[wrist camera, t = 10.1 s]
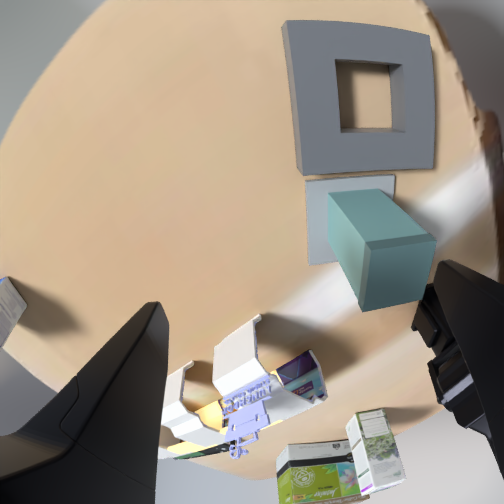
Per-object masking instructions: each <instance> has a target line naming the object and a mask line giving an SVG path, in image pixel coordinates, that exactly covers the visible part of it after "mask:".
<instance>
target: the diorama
mask: <svg viewBox="0 0 504 504" xmlns="http://www.w3.org/2000/svg"><path fill="white" fill-rule="evenodd" d="M259 321H261V314H258V315H257V316H255V317H254V318H252V319H251V320H250V321H248V322H247V323H245V324H244V325H243V326H241V327H240V328H238V329H237V330H236V331H234V332H233V333H231V334H230V335H228V336H227V337H226V338H224V339H223V341H222V342H221V343H219V344H218V345H216V346H215V347H214V362H213V381H212V383H213V384H214V385H215V387H216V388H217V390H218V391H219V392H220V394H221V395H222V396H223V397H224V398H222V399H220V400H218V401H216V402H214V403H211V404H209V405H207V406H205V407H203V408H201V409H199V410H197V411H195V412H191V411H189V410H187V408H186V407H185V405H184V404H183V403H182V399H183V397H182V396H183V390H184V382H185V381H184V380H185V372H186V370H188V369H189V368H191V367H192V366H194V362H193V360H192V361H190V362H189V363H187V364H186V365H184V366H183V367H181V368H180V369H178V370H177V371H175V372H174V373H172V374H170V375H169V376H167V380H166V387H165V395H164V403H163V411H162V420H161V429H160V439H159V449H158V459H165V458H169V457H172V458H174V457H178V456H182V455H186V454H190V453H193V452H197V451H200V450H204V449H207V448H210V447H214V446H217V445H220V444H223V443H226V442H229V441H232V440H237V446H235V445H230V448H229V450H230V451H231V452H230V457H232V458H234V459H238V458H240V455H241V454H242V455H246V454H248V450H245V449H243V450H242V449H241V448H240V447H241V446H244V445H247V444H249V443H252V442H254V441H256V440H258V434H257V432H260V431H259V430H262V429H264V428H267V427H269V426H272V425H274V424H276V423H279V422H281V421H283V420H286V419H288V418H290V417H292V416H295V415H297V414H299V413H301V412H303V411H305V410H308V409H310V408H312V407H314V406H316V405H318V404H320V403H322V402H324V401H325V400H326V398H327V397H328V394H327V390H326V386H325V382H324V378H323V374H322V370H321V366H320V364H319V362H318V360H317V359H316V357H315V355H314V354H313V351H312V350H308V351H306V352H304V353H303V354H301V355H300V356H298V357H296V358H295V359H293V360H291V361H290V362H288V363H286V364H284V365H283V366H281V367H279V368H278V369H276V371H272V372H271V373H269V372H267V371H266V370H265V369H264V367H263V366H262V365H261V363H260V362H259V360H258V354H257V353H258V352H257V339H256V335H255V334H256V331H255V324H256V323H258V322H259ZM252 433H253V435H254V438H252V439H250V440H247V441H245V442H243V443H241V438H242V437H245V436H247V435H250V434H252ZM233 447H237V450H233ZM235 451H237V455H236V456H235V457H234V455H233V454H234V452H235ZM242 452H243V453H244V454H243V453H242Z"/></svg>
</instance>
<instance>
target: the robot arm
mask: <svg viewBox="0 0 504 504" xmlns="http://www.w3.org/2000/svg"><path fill="white" fill-rule="evenodd" d="M411 329H412V330H413V331H417V330H418V331H419V333H420V335H421V336H422V338H423V340H424V342H425V343H426V345H427V347H428V348H432V350H433V351H434V353H435V355H436V357H435V358H434V359H433V360H430V361H429V362H428V363H427V365H428V368H429V373H430V376H431V380H432V383H433V386H434V389H435V392H436V396H437V402H438V403H439V404H442V405H444V407H445V408H446V409H447V410H448V411H450V412H453V413H454V416H455V419H456V421H457V423H458V424H459V425H460V426H462V427H464V428H466V429H467V428H470V429H473V430H475V431H477V432H479V433H481V434H483V435H485V436H486V438H487V440H488V442H489V444H490V447H491V449H492V451H493V454H494V456H495V459H496V461H497V464H498V466H499V469H500V472H501V474H502V477H503V479H504V285H502V284H500V283H498V282H496V281H494V280H492V279H490V278H488V277H486V276H484V275H482V274H480V273H478V272H476V271H474V270H472V269H470V268H468V267H465V266H463V265H461V264H459V263H457V262H455V261H453V260H450V259H447V260H442V261H440V262H439V263H438V266H437V270H436V273H435V277H434V282H433V284H429V285H426V287H425V291H424V294H423V298H422V299H421V300H419V304H418V307H417V310H416V314H415V317H414V320H413V323H412V326H411ZM168 348H169V322H168V319H167V317H166V314H165V312H164V309H163V307H162V305H161V303H160V302H158V301H156V302H147V303H146V304H145V305H144V306H143V307H142V308H141V309H140V310H139V311H138V312H137V313H136V314H135V315H134V316H133V317H132V318H131V319H130V320H129V321H128V322H127V323H126V324H125V325H124V326H123V327H122V328H121V329H120V330H119V331H118V332H117V333H116V334H115V335H114V336H113V337H112V338H111V339H110V340H109V341H108V342H107V343H106V344H105V345H104V346H103V347H102V348H101V349H100V350H99V351H98V352H97V353H96V354H95V355H94V356H93V357H92V358H91V359H90V360H89V362H88V363H87V364H86V365H85V366H84V367H83V368H82V369H81V370H80V371H79V372H78V373H77V376H74V377H73V378H72V379H71V380H70V382H69V383H68V384H67V385H66V386H65V387H64V388H63V389H62V390H61V391H60V392H59V393H58V394H57V395H56V396H55V397H54V398H53V399H52V400H51V401H50V402H49V403H48V404H46V406H45V407H43V408H42V409H41V410H40V411H39V412H38V413H37V414H36V415H35V416H33V417H32V418H31V419H30V420H29V421H28V422H27V423H26V424H25V425H24V426H23V427H21V428H20V429H19V430H17V431H16V432H14V433H12V434H9V435H5V436H0V504H155V487H156V473H157V460H158V449H159V439H160V429H161V420H162V411H163V403H164V395H165V387H166V380H167V372H168Z"/></svg>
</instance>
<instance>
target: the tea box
mask: <svg viewBox="0 0 504 504" xmlns="http://www.w3.org/2000/svg"><path fill="white" fill-rule="evenodd" d="M276 469H277V482H278V494H279V504H358V503H360V502H362V501H364V500H366V499H369V498H370V496H369V494H368V495H364V496H362V495H361V491H360V487H359V482H358V478H357V473H356V468H355V464H354V459H353V455H352V450H351V446H350V442H349V440H346V441H338V442H327V443H312V444H288V445H287V446H286V447H285V448H284V450H283V451H282V452H281V454H280V455H279V456H278V457H277V459H276Z"/></svg>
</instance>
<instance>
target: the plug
mask: <svg viewBox="0 0 504 504" xmlns="http://www.w3.org/2000/svg"><path fill="white" fill-rule="evenodd" d="M328 242H329V244H330V246H331V248H332V250H333V252H334V253H335V255H336V257H337V259H338V261H339V263H340V265H341V267H342V269H343V271H344V273H345V275H346V277H347V279H348V281H349V283H350V285H351V287H352V289H353V291H354V293H355V295H356V297H357V299H358V304H359V306H360V308H361V310H362V312H366V311H371V310H376V309H381V308H386V307H390V306H395V305H400V304H404V303H408V302H413V301H417V300H421V299H422V298H423V294H424V291H425V287H426V284H427V280H428V276H429V273H430V269H431V265H432V260H433V256H434V252H435V247H436V243H437V240H436V239H435V238H434V237H433V236H432V235H431V234H430V233H427V232H426V231H425V230H424V229H423V228H422V227H421V226H420V225H419V224H417V223H416V222H415V221H414V220H413V219H412V218H411V217H410V216H409V215H408V214H407V213H405V212H404V211H403V210H402V209H401V208H400V207H399V206H398V205H396V204H395V203H394V202H393V201H392V200H391V199H390V198H388V197H387V196H386V195H385V194H384V193H382V192H381V191H380V190H379V189H378V188H377V189H364V190H352V191H341V192H330V193H328Z"/></svg>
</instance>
